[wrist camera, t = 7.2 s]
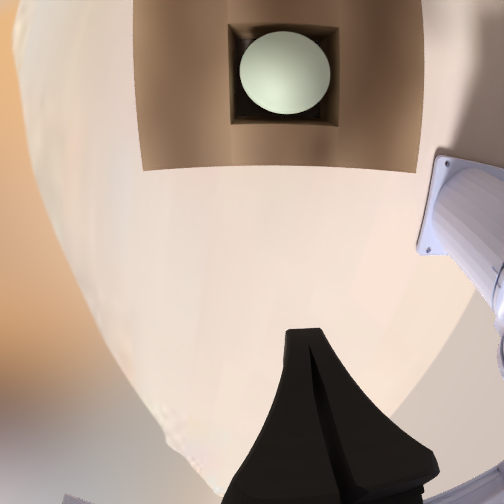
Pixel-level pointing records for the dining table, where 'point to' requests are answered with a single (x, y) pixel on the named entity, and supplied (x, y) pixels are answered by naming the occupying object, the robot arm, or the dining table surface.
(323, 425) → the robot arm
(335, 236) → the dining table surface
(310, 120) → the peg block
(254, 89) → the sage peg
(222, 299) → the dining table surface
